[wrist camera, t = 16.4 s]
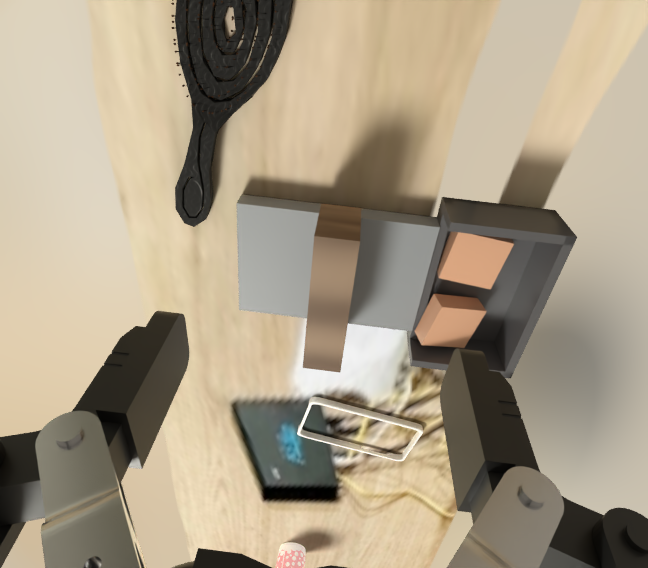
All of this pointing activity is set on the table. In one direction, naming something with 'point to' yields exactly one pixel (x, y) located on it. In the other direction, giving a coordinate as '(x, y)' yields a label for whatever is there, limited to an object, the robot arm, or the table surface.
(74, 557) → the robot arm
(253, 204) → the board
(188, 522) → the table surface
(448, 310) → the tile
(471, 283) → the tile
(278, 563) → the beverage cup
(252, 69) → the hairbrush
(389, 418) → the phone case
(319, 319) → the brown wooden block
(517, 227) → the tray
